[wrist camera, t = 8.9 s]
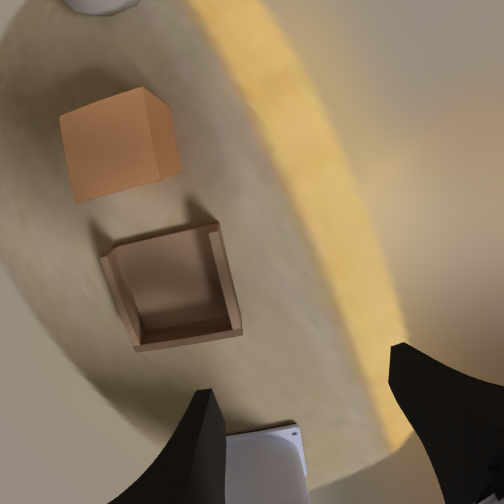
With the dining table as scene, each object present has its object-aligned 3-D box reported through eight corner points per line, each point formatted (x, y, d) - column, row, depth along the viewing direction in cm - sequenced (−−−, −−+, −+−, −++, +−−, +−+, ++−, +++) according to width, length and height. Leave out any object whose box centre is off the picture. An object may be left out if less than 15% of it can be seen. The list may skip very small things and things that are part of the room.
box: (241, 317, 21) (242, 335, 19) (143, 334, 21) (136, 352, 19) (219, 222, 19) (217, 231, 17) (112, 246, 19) (99, 257, 17)
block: (182, 171, 18) (160, 180, 12) (119, 187, 18) (75, 204, 12) (169, 106, 16) (142, 86, 11) (106, 124, 16) (58, 116, 11)
